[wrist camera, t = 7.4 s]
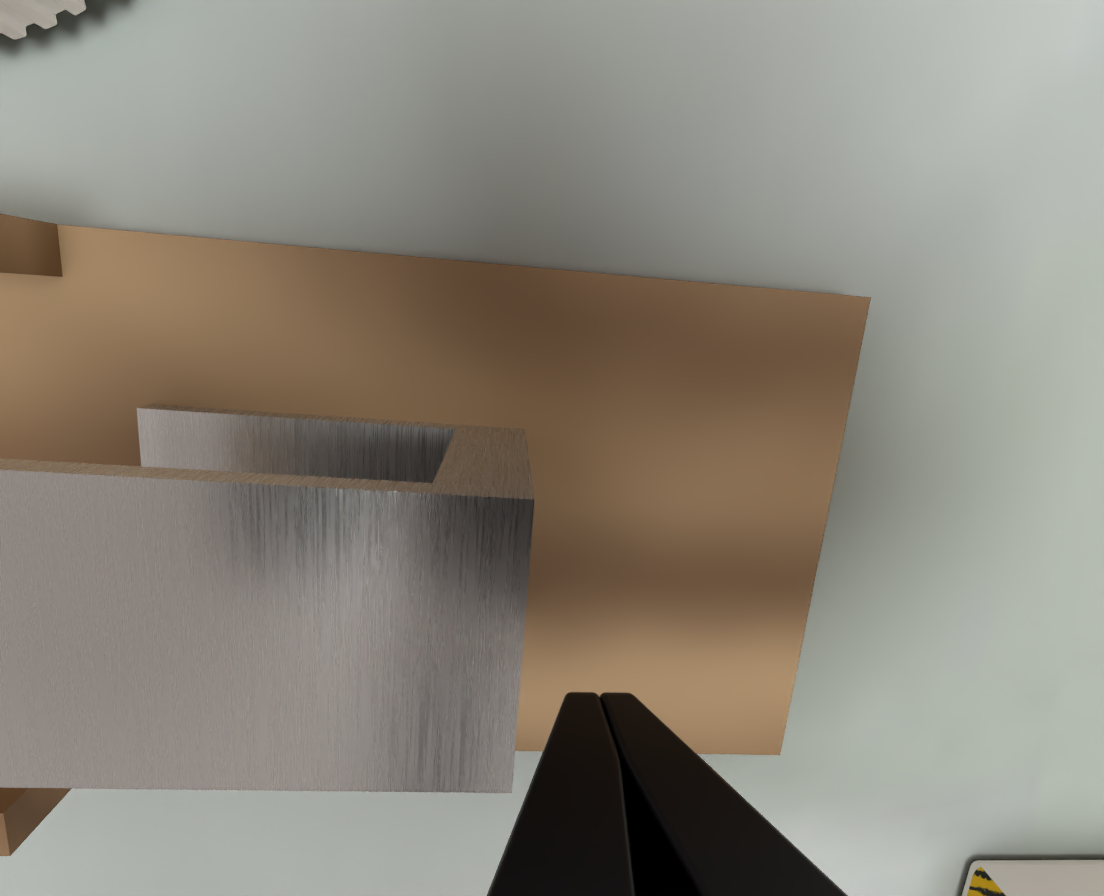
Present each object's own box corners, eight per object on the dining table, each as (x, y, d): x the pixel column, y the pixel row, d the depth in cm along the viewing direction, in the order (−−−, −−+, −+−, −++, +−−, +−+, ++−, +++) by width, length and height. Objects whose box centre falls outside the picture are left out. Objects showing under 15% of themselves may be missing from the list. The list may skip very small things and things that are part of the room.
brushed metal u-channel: (511, 792, 9) (-24, 787, 9) (510, 628, 14) (166, 616, 14) (534, 499, 8) (-78, 465, 8) (524, 428, 13) (150, 404, 12)
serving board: (764, 729, 17) (841, 856, 13) (-340, 706, 14) (-657, 855, 10) (845, 298, 14) (975, 293, 10) (-500, 178, 12) (-1012, 112, 8)
